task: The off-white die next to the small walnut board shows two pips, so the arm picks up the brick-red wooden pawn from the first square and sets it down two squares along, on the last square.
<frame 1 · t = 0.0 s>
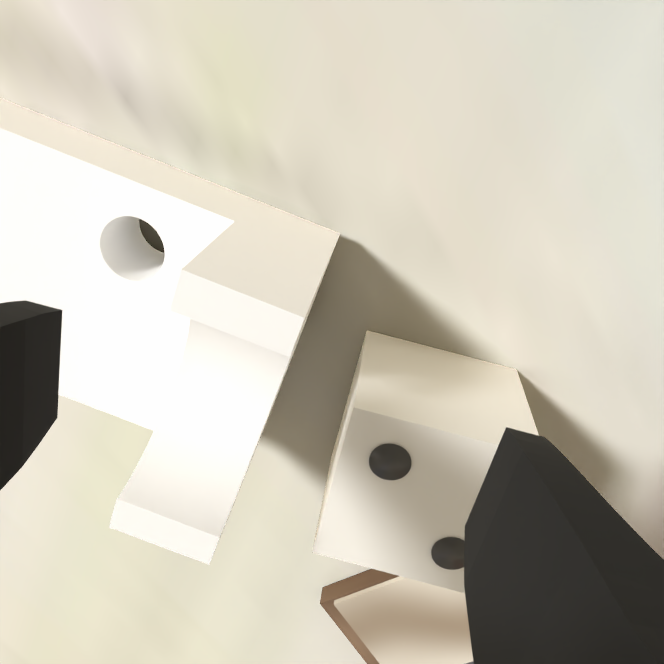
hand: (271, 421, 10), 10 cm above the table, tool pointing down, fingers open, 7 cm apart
bracket: (123, 248, 21), on the table
die: (419, 412, 21), on the table
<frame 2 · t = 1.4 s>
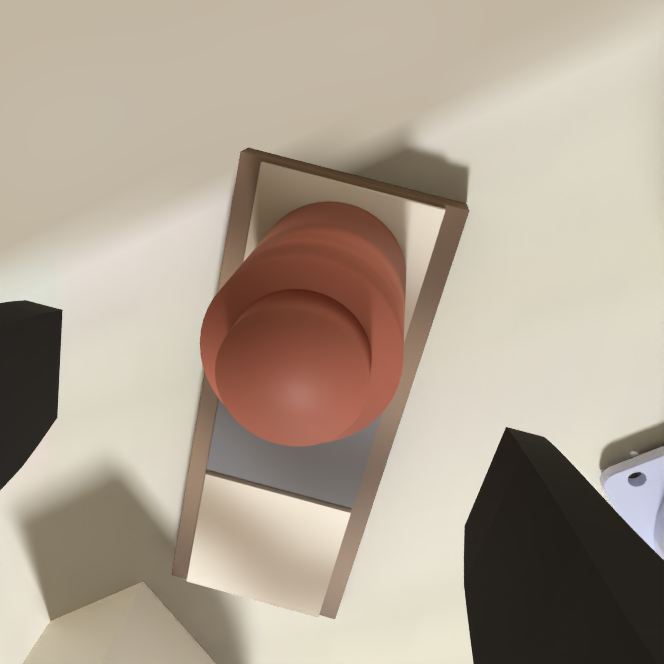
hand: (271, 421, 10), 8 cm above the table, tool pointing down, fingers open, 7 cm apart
board: (299, 409, 20), on the table
die: (135, 642, 25), on the table
pawn: (331, 275, 17), point 1 cm above the table, touching board
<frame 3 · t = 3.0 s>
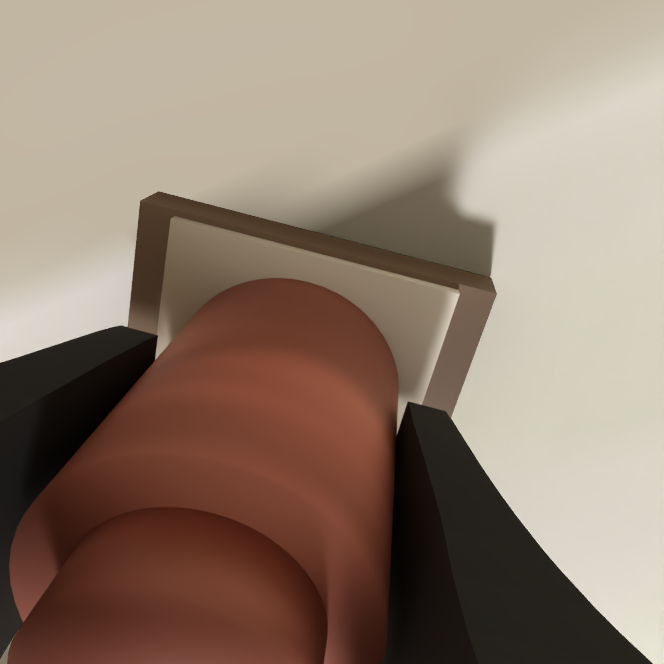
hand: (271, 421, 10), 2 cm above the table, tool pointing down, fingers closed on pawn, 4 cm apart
board: (251, 550, 14), on the table
pawn: (285, 385, 11), point 1 cm above the table, touching board, gripper
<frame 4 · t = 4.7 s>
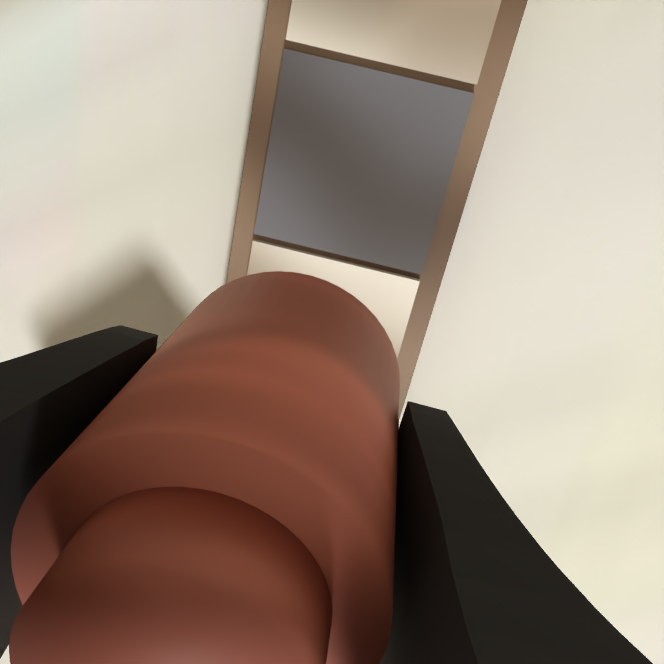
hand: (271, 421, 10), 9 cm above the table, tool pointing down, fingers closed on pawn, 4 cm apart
board: (359, 162, 17), on the table
pawn: (286, 379, 11), point 8 cm above the table, touching gripper
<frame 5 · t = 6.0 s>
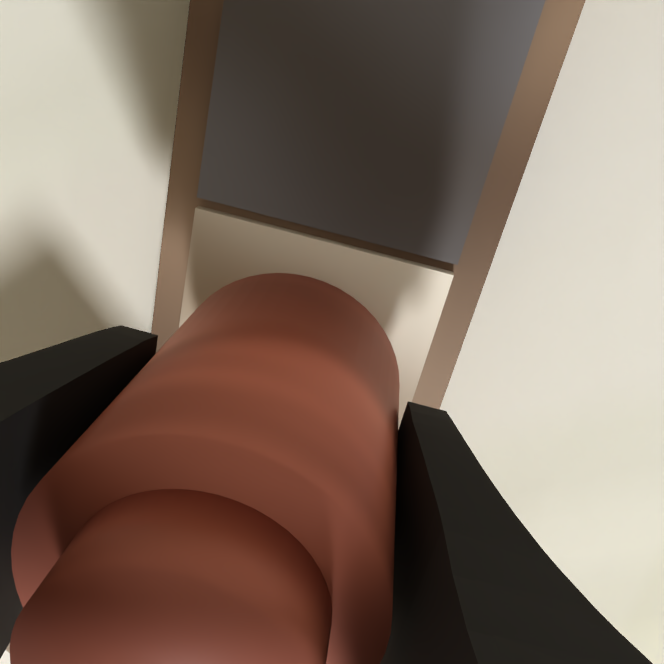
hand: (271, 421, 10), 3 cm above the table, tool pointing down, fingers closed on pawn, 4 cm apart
board: (363, 87, 11), on the table
pawn: (285, 381, 11), point 2 cm above the table, touching gripper
when the fingers open (3 cm above the table, at t = 6.8 s): pawn drops 1 cm, resting on board.
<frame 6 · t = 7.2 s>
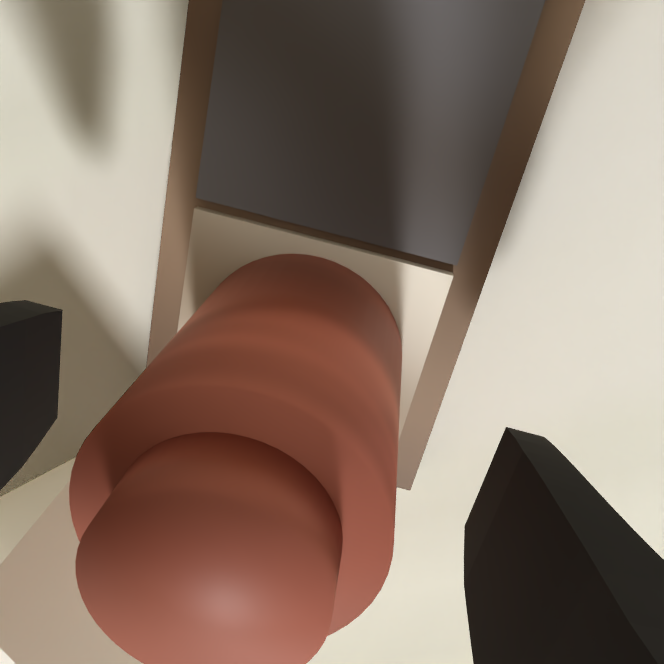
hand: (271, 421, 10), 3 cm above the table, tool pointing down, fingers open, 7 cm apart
board: (363, 88, 11), on the table
die: (90, 550, 16), on the table
pawn: (298, 353, 12), point 1 cm above the table, touching board
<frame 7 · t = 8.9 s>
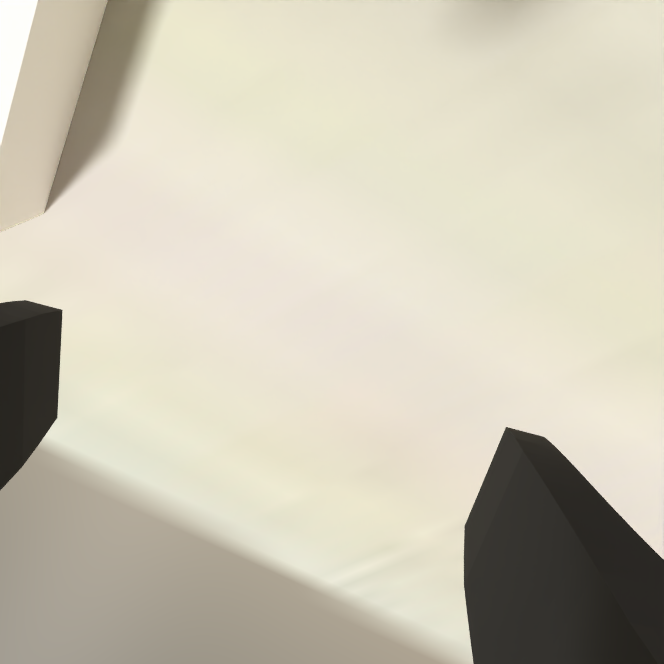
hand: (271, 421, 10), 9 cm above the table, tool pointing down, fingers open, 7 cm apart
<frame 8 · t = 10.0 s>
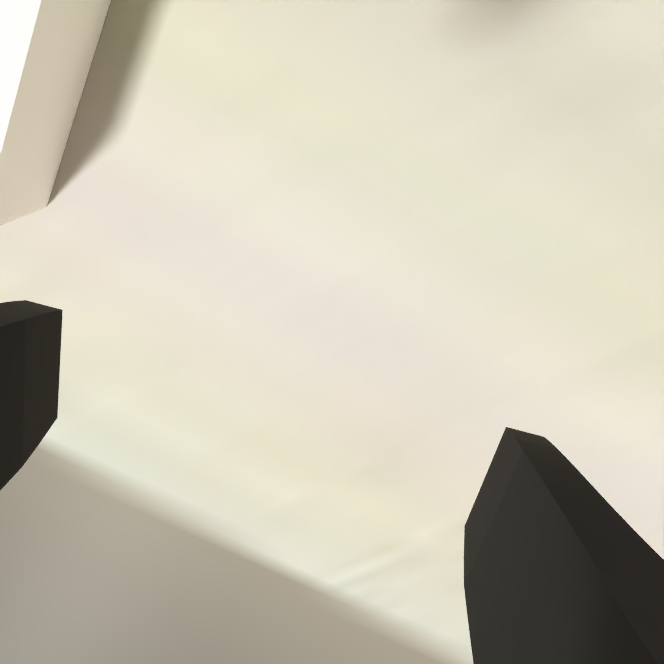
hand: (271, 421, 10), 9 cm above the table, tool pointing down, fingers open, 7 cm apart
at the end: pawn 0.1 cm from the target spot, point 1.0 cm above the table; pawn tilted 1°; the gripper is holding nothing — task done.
